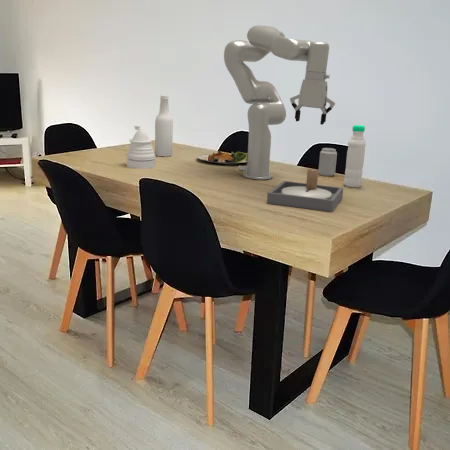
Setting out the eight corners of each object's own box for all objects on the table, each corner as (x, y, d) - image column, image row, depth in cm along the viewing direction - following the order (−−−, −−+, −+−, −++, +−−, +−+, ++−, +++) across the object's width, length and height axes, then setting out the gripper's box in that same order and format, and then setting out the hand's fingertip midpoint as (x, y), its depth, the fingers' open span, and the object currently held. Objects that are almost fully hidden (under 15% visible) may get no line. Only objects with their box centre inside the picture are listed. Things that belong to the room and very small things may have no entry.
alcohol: (171, 157, 276) (172, 96, 268) (153, 156, 276) (154, 95, 268) (173, 154, 285) (174, 95, 276) (156, 153, 285) (156, 94, 276)
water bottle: (351, 188, 224) (358, 126, 217) (340, 184, 230) (346, 124, 223) (364, 187, 228) (371, 126, 221) (353, 183, 234) (359, 124, 226)
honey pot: (121, 166, 248) (120, 126, 242) (136, 162, 259) (136, 123, 254) (146, 169, 243) (146, 128, 238) (160, 165, 255) (160, 126, 249)
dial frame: (266, 203, 195) (268, 186, 193) (283, 190, 216) (284, 175, 214) (331, 211, 187) (333, 194, 185) (342, 197, 208) (344, 181, 207)
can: (334, 177, 246) (337, 150, 242) (317, 175, 247) (320, 149, 244) (334, 174, 253) (337, 148, 249) (318, 172, 254) (320, 146, 251)
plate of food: (264, 163, 273) (265, 150, 272) (226, 168, 254) (227, 155, 252) (223, 156, 292) (224, 145, 290) (185, 161, 272) (185, 149, 270)
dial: (324, 204, 189) (326, 180, 187) (274, 197, 196) (276, 174, 194) (336, 194, 205) (338, 171, 203) (289, 188, 212) (291, 166, 210)
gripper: (340, 78, 206) (333, 124, 212) (295, 74, 212) (290, 118, 217) (336, 79, 200) (329, 126, 205) (290, 74, 205) (285, 120, 211)
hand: (309, 122), depth 211 cm, fingers open, 9 cm apart
